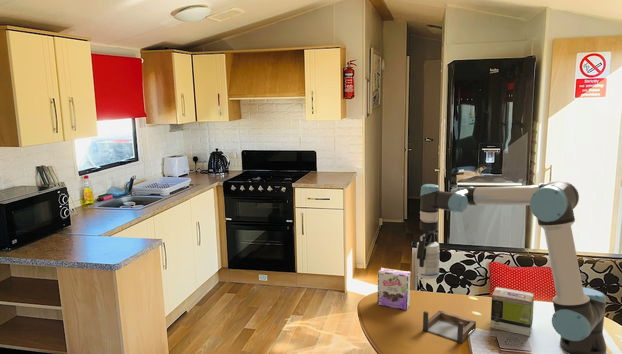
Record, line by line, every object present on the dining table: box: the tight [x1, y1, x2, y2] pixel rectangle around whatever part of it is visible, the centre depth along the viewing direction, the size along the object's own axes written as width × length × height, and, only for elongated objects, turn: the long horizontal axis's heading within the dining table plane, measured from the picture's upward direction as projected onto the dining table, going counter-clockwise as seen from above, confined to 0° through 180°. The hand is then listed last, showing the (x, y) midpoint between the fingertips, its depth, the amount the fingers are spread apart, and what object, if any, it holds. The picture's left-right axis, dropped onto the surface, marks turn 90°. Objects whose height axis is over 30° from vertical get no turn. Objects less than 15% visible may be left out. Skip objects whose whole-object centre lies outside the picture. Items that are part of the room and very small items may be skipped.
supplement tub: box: [416, 241, 440, 280], centre depth 206 cm, size 10×10×15 cm
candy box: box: [377, 267, 412, 311], centre depth 214 cm, size 14×6×16 cm, turn 67°
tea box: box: [490, 286, 535, 337], centre depth 194 cm, size 15×10×15 cm
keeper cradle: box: [422, 310, 477, 344], centre depth 193 cm, size 16×16×8 cm
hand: (427, 270), depth 207 cm, fingers closed on supplement tub, 9 cm apart
